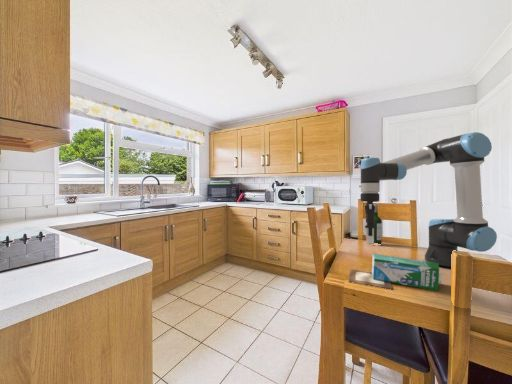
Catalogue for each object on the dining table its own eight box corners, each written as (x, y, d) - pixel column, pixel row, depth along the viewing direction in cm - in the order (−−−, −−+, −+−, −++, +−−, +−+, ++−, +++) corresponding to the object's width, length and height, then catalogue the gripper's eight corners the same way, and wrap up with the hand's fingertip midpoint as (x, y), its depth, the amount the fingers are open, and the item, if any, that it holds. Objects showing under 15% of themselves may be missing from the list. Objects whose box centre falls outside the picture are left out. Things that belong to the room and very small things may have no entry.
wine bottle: (371, 244, 162) (371, 204, 162) (383, 246, 156) (383, 204, 156) (367, 246, 157) (367, 204, 156) (379, 248, 151) (379, 205, 151)
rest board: (387, 276, 101) (387, 274, 101) (392, 290, 87) (392, 288, 87) (350, 270, 108) (350, 268, 108) (348, 283, 94) (349, 280, 94)
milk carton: (374, 258, 95) (446, 270, 85) (372, 253, 104) (438, 263, 93) (373, 279, 96) (445, 292, 85) (371, 272, 104) (437, 284, 93)
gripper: (360, 192, 110) (360, 234, 110) (360, 192, 88) (360, 245, 88) (377, 192, 107) (377, 235, 107) (381, 193, 85) (381, 247, 85)
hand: (369, 240), depth 98 cm, fingers open, 13 cm apart
